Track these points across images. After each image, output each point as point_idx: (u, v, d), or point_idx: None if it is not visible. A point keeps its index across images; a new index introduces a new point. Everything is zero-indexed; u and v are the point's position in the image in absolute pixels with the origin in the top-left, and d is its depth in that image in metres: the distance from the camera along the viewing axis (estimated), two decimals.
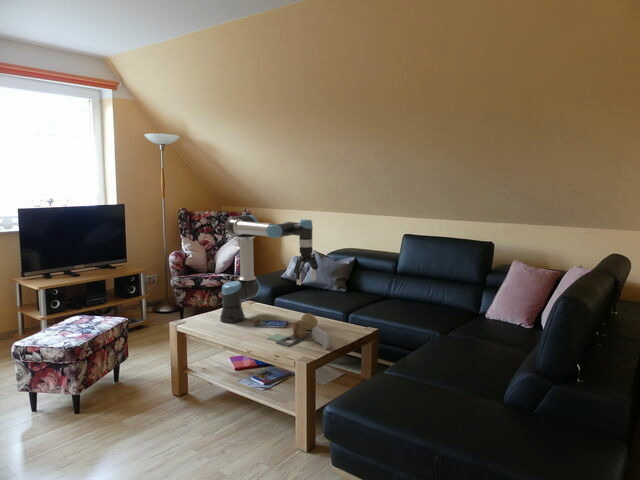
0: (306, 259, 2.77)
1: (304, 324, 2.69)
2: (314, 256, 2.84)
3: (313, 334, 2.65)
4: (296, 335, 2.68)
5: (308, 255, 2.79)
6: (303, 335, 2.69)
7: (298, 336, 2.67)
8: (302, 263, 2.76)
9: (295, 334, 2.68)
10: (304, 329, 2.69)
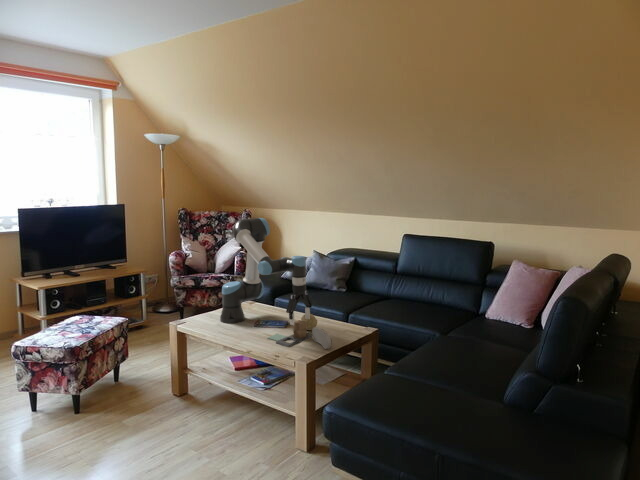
0: (299, 298, 2.64)
1: (304, 324, 2.69)
2: (308, 294, 2.71)
3: (313, 334, 2.65)
4: (296, 335, 2.68)
5: (301, 293, 2.67)
6: (303, 335, 2.69)
7: (298, 336, 2.67)
8: (295, 302, 2.63)
9: (295, 334, 2.68)
10: (304, 329, 2.69)
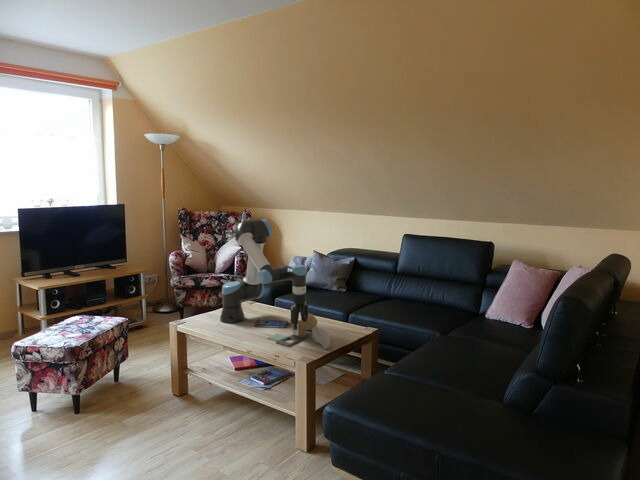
0: (300, 307, 2.65)
1: (304, 324, 2.68)
2: (307, 305, 2.72)
3: (313, 334, 2.65)
4: (296, 335, 2.68)
5: (302, 300, 2.68)
6: (303, 335, 2.69)
7: (298, 336, 2.67)
8: (297, 312, 2.65)
9: None
10: (304, 329, 2.69)
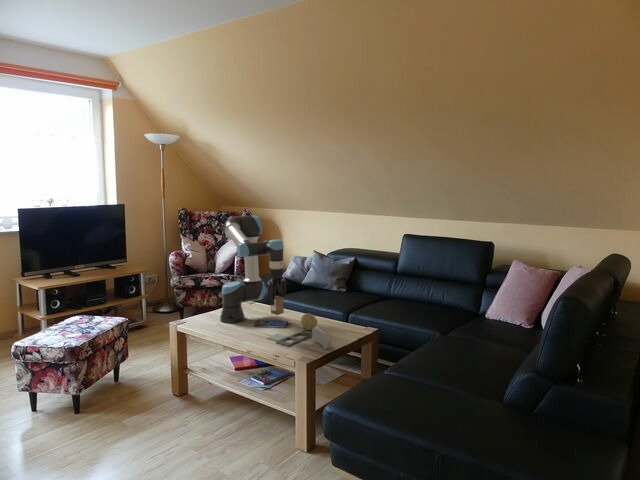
0: (277, 282, 2.63)
1: (281, 299, 2.66)
2: (285, 280, 2.69)
3: (313, 334, 2.65)
4: None
5: (279, 275, 2.65)
6: (280, 311, 2.66)
7: (275, 311, 2.65)
8: (274, 287, 2.63)
9: (272, 310, 2.66)
10: (281, 305, 2.66)
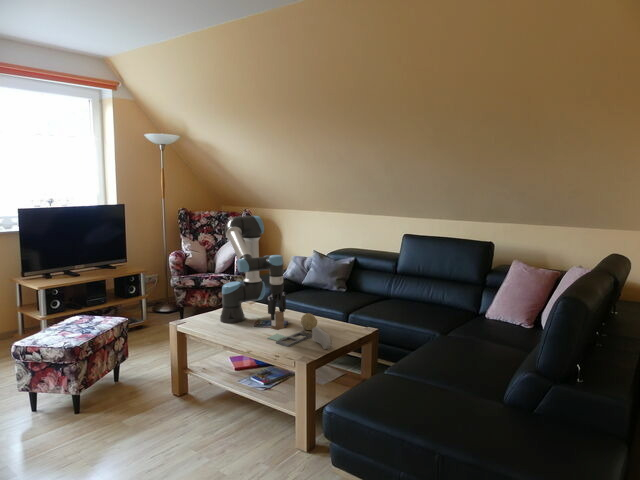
0: (277, 297, 2.64)
1: (282, 315, 2.67)
2: (285, 295, 2.70)
3: (313, 334, 2.65)
4: (273, 326, 2.67)
5: (279, 290, 2.66)
6: (281, 326, 2.67)
7: (275, 327, 2.66)
8: (274, 302, 2.64)
9: None
10: (281, 320, 2.67)
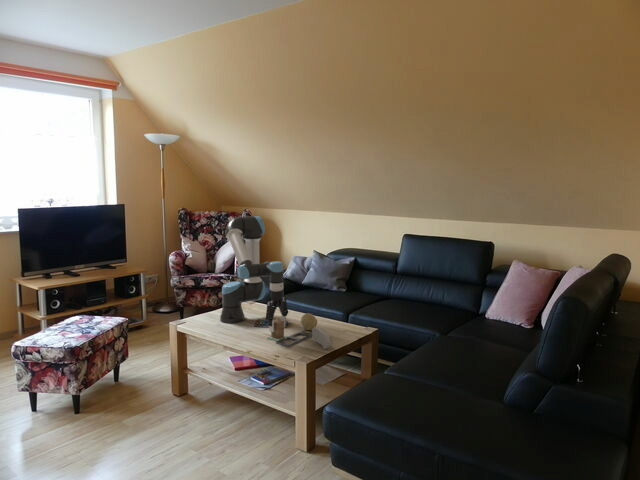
0: (277, 303, 2.64)
1: (282, 323, 2.68)
2: (285, 300, 2.71)
3: (313, 334, 2.65)
4: (274, 334, 2.67)
5: (279, 298, 2.66)
6: (281, 335, 2.68)
7: (276, 335, 2.67)
8: (273, 309, 2.64)
9: (273, 333, 2.68)
10: (282, 328, 2.68)
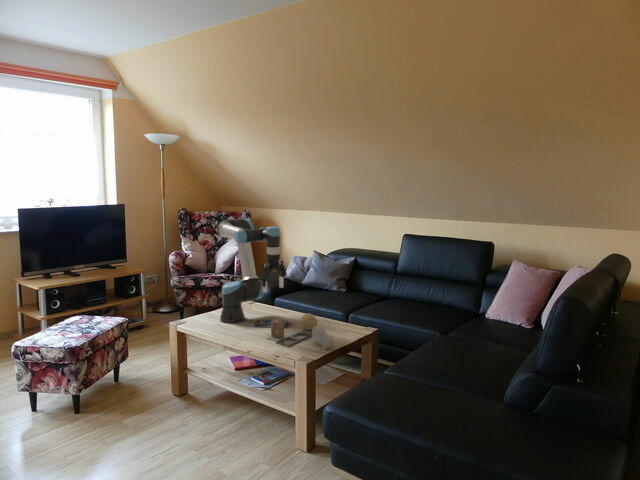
0: (273, 267, 2.75)
1: (282, 323, 2.68)
2: (282, 263, 2.82)
3: (313, 334, 2.65)
4: (274, 334, 2.67)
5: (275, 262, 2.77)
6: (281, 335, 2.68)
7: (276, 335, 2.67)
8: (268, 271, 2.74)
9: (273, 333, 2.68)
10: (282, 328, 2.68)
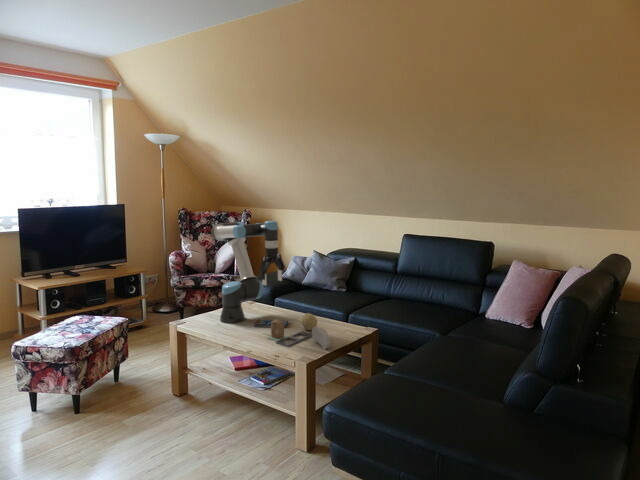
0: (271, 260, 2.82)
1: (282, 323, 2.68)
2: (280, 257, 2.89)
3: (313, 334, 2.65)
4: (274, 334, 2.67)
5: (274, 256, 2.84)
6: (281, 335, 2.68)
7: (276, 335, 2.67)
8: (267, 264, 2.81)
9: (273, 333, 2.68)
10: (282, 328, 2.68)
